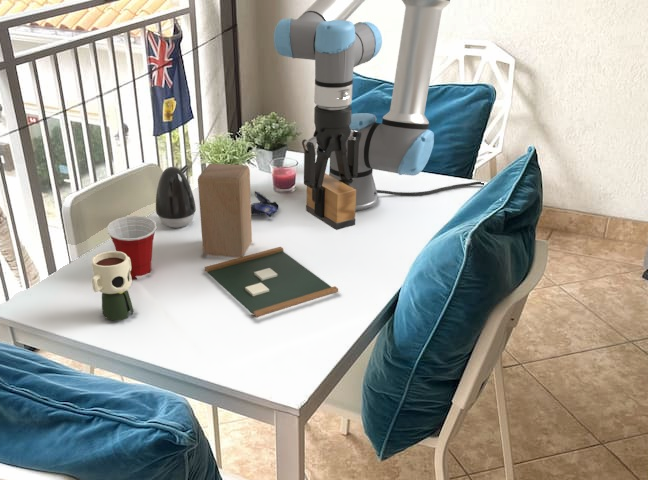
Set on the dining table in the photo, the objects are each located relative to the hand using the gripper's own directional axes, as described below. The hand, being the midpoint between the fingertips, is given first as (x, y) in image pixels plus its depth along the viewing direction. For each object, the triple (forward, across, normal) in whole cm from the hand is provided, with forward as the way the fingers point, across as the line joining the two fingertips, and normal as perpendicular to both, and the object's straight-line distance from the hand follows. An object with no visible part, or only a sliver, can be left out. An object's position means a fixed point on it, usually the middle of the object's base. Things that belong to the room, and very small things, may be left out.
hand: (330, 212), depth 153 cm
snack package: (+14, +1, +36) cm, 38 cm away
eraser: (+1, 0, 0) cm, 1 cm away
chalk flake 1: (+12, -15, +2) cm, 20 cm away
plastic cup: (+13, -39, +20) cm, 46 cm away
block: (+14, -16, +20) cm, 29 cm away
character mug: (+13, -49, +5) cm, 51 cm away
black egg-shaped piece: (+14, -20, +41) cm, 47 cm away
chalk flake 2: (+12, -20, -2) cm, 24 cm away
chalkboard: (+13, -16, 0) cm, 21 cm away
